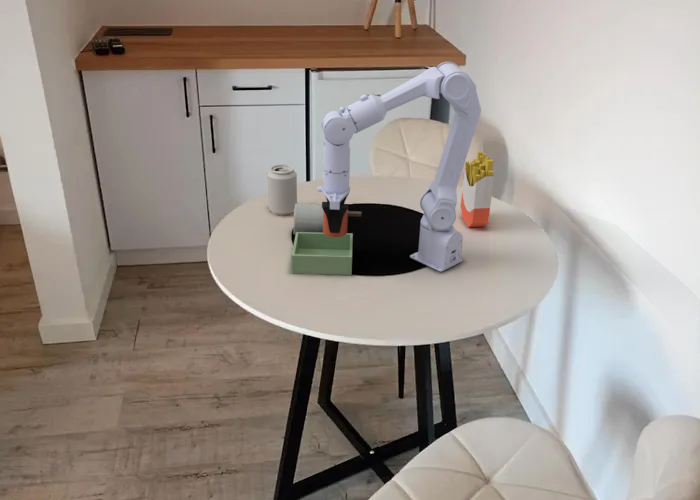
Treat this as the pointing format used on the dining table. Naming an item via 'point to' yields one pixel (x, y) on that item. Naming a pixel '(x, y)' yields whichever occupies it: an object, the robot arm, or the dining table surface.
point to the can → (282, 189)
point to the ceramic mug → (308, 218)
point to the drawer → (322, 254)
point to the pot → (343, 227)
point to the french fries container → (477, 191)
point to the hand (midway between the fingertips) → (335, 226)
